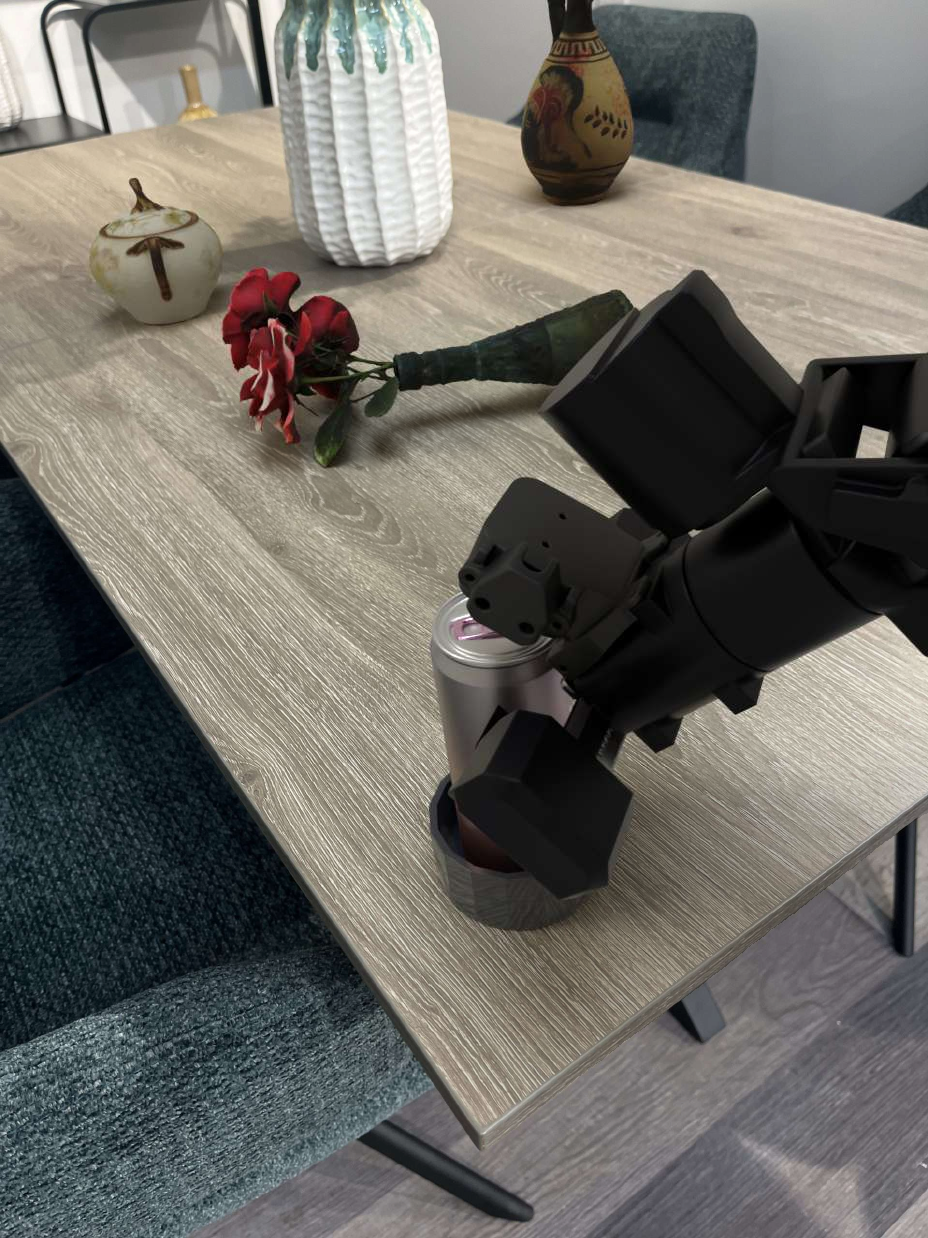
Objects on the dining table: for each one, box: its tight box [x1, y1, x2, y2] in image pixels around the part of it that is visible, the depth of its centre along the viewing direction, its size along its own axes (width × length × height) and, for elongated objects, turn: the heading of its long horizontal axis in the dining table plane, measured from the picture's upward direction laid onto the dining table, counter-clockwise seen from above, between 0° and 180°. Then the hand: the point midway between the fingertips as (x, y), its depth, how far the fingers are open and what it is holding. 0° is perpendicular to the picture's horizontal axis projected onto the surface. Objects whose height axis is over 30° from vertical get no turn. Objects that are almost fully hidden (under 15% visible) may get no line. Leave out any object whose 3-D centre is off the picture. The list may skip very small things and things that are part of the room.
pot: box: [428, 772, 594, 931], centre depth 51 cm, size 8×8×4 cm
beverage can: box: [429, 591, 574, 873], centre depth 47 cm, size 6×6×15 cm
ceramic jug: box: [520, 0, 635, 206], centre depth 134 cm, size 17×15×30 cm
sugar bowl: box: [88, 177, 224, 325], centre depth 115 cm, size 20×15×15 cm
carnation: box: [221, 267, 635, 468], centre depth 90 cm, size 16×18×35 cm
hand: (483, 748), depth 47 cm, fingers open, 6 cm apart
